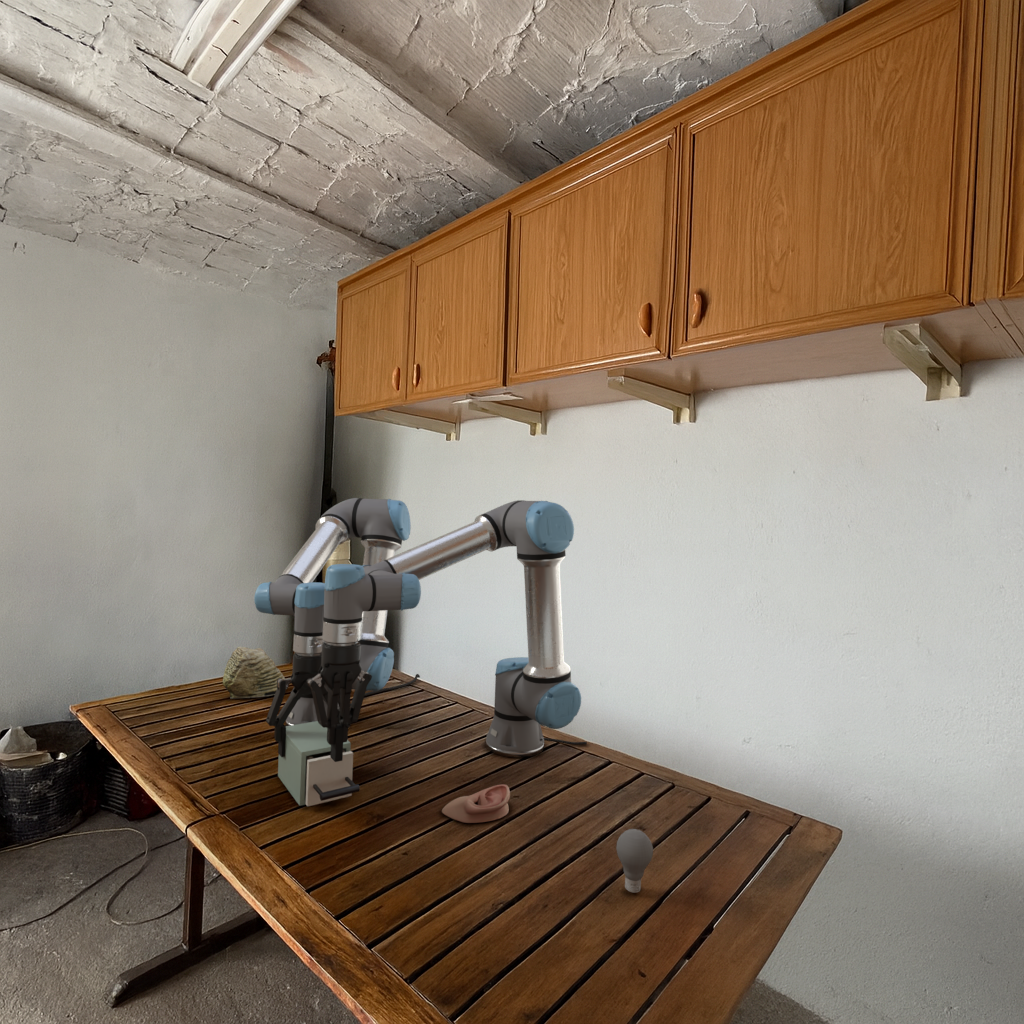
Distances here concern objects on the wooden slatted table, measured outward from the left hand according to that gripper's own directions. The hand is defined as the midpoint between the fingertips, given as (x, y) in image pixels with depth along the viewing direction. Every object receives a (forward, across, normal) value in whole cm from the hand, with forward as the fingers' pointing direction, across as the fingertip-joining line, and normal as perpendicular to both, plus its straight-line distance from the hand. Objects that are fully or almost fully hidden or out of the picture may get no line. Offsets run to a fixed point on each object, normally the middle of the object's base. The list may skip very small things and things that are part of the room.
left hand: (307, 749), depth 143 cm
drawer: (+5, 0, -11) cm, 12 cm away
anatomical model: (+6, +25, -32) cm, 41 cm away
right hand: (-5, 0, -19) cm, 19 cm away
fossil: (+6, +4, +65) cm, 65 cm away
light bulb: (+6, +33, -69) cm, 76 cm away
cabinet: (+6, 0, -4) cm, 8 cm away
